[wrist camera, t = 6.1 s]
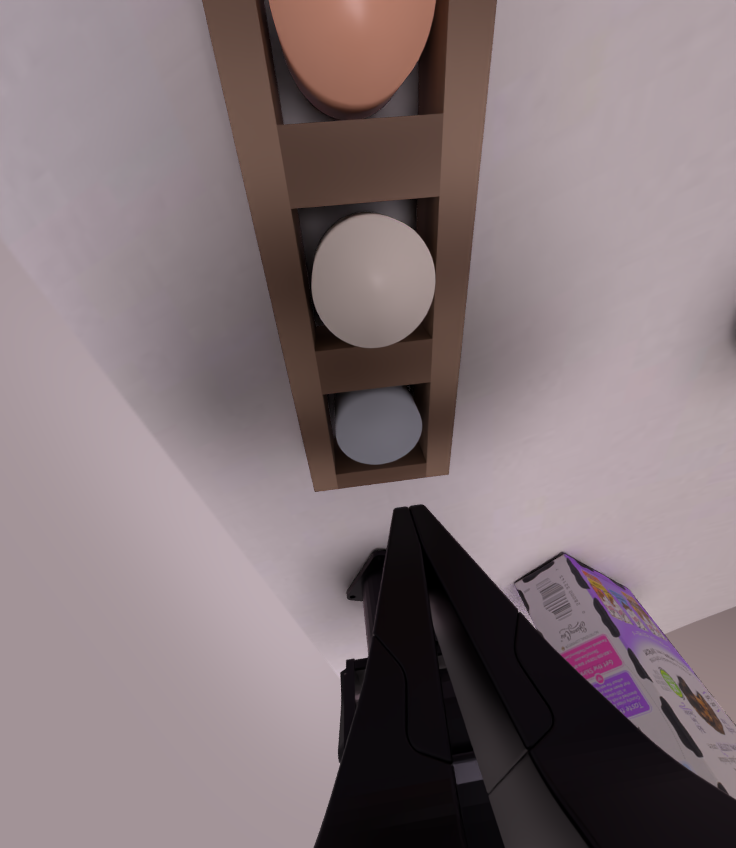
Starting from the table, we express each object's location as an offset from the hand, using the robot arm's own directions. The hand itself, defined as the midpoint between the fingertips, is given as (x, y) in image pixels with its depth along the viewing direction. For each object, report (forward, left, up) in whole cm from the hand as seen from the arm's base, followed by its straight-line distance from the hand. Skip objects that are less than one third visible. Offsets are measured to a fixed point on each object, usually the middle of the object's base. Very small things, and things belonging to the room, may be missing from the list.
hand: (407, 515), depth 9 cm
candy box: (-15, -28, -10) cm, 33 cm away
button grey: (-2, -1, -9) cm, 9 cm away
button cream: (+4, +2, -8) cm, 9 cm away
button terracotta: (+10, +5, -9) cm, 14 cm away
